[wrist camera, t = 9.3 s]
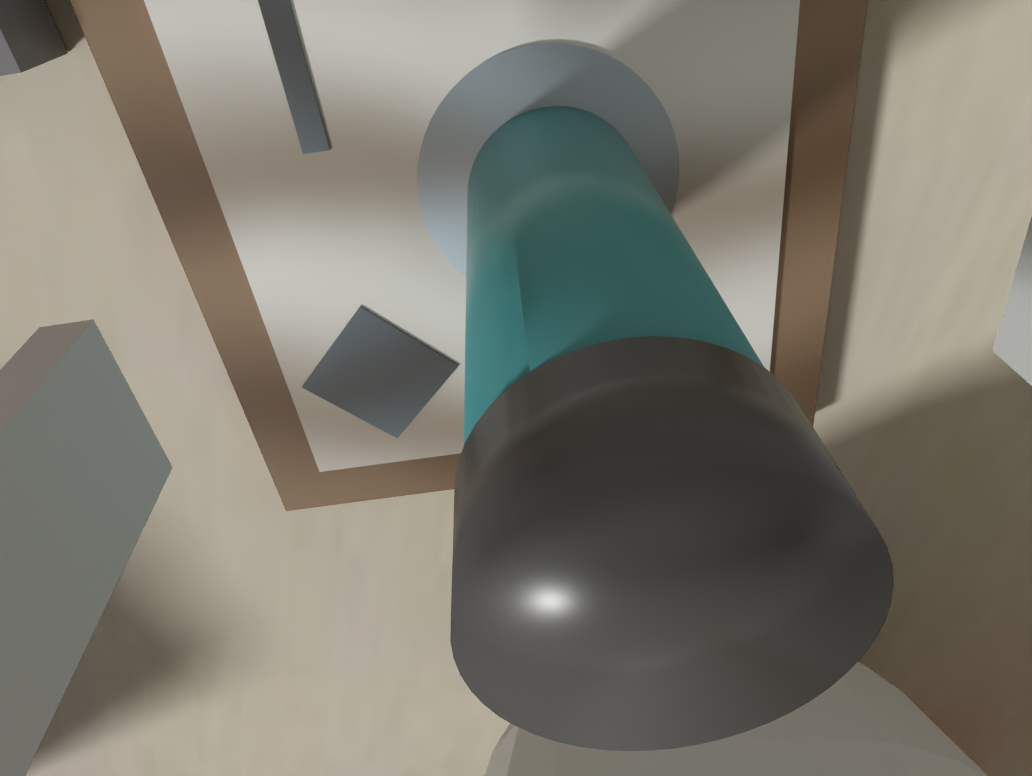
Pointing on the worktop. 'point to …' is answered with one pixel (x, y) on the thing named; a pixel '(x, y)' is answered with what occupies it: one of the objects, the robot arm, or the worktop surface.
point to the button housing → (27, 36)
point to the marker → (634, 472)
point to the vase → (772, 744)
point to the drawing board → (458, 186)
